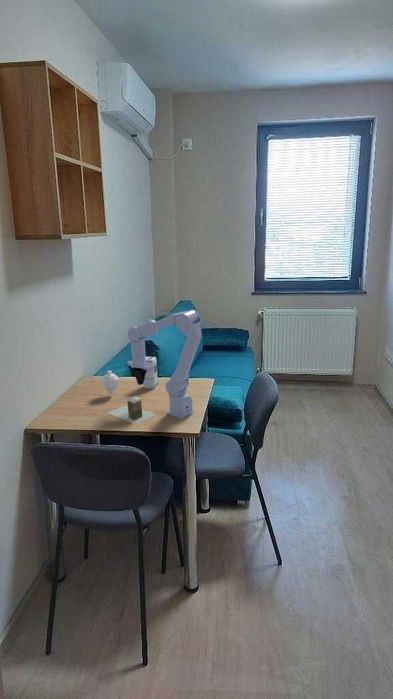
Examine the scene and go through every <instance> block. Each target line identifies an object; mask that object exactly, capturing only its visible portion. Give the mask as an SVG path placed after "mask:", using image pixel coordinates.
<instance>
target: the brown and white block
mask: <svg viewBox="0 0 393 699" xmlns="http://www.w3.org/2000/svg"><path fill="white" fill-rule="evenodd" d="M142 404H143V403H142V398H141V397H138V396H133V397H132V396H131V397H130V398H127V405H128V415H129V417H130V418H132V419H134V420H135V419H138V418H140V417H142V409H143V406H142Z"/></svg>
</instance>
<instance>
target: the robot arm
mask: <svg viewBox="0 0 393 699" xmlns="http://www.w3.org/2000/svg"><path fill="white" fill-rule="evenodd" d="M201 321H202V317H201V316H200V314H199V312H198V311H197V310H195V309H189V310H187V311H180V312H176V313H174V314H170V315H168V316H166V317H163V318H161V319H159V320H155V319H151V318H149V319H147V320H145V322H143V323H138V324H137V325H136V326H132V327H130V328H129V329H128V331H127V337H128V339H129V340H130V345H131V346H130V348H131V349H130V350H131V357H132V359H131V360H127V362H126V364H127V365H126V366H128V367H131V372H132V373H133V374H134V377H135V380H136V383H137V385H139V386H141V385H144V378H145V375H146V372H147V371H148V372H150V371H152V366H150V365H148V364H147V363H146V357H147V354H146V344H145V341H146V338H147V337H150V336H153V335H155V334H158V333H159V331H160V329H162V328H165V327H168V326H171V325H172V326H173V327H177V328H178V329H179V330H180V332H181V333H182V334H183V335H184V336H185V337H186V340H185V342H184V345H183V348H182V351H181V354H180V357H179V359H178V361H177V365H176V368H175V371H174V372H173V374H172V375H171V376H170V379H169V380H168V381H167V382H166V383H165V391H166V393H167V394H168V399H169V409H168V410H167V411H165V413H166V414H168V415H171V416H172V417H176V418H179V419H183V418H185V417H188V416H189V415H191V414H194V413H195V412H194V411H193V410H194V409H193V399H192V397H191V396H190V395H189V394H188V393H187V388H188V387H189V385H190V381H189V380H190V374H189V372H190V369H191V367H192V363H193V361H194V358H195V356H196V354H197V349H198V347H199V345H200V342H201V339H202V328H201V327H202V326H201Z"/></svg>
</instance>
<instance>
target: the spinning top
mask: <svg viewBox="0 0 393 699" xmlns="http://www.w3.org/2000/svg"><path fill="white" fill-rule="evenodd" d="M119 381H120V379H119V377H118V376H117V374H115V373H113V371H112V370H107V373H106V374H104V376H103V377H102V379H101V383H102V384H101V385H103V387H104V389H105V390H106V391H107V392H108V393H109V394H110V395H111V396H113V393H114V392H115V391H116V388H117V387H118V386H119V383H120V382H119Z"/></svg>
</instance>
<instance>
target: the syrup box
mask: <svg viewBox="0 0 393 699" xmlns="http://www.w3.org/2000/svg"><path fill="white" fill-rule="evenodd" d="M157 361H158V360H157V357H156V356H146V363H147V364H148V365H150V366H152V371H150V372H148V371H147V372H146V375H145V378H144V383H143V388H145V389H156V388H157V387H158V385H159V380H158V379H159V378H158V363H157Z"/></svg>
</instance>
